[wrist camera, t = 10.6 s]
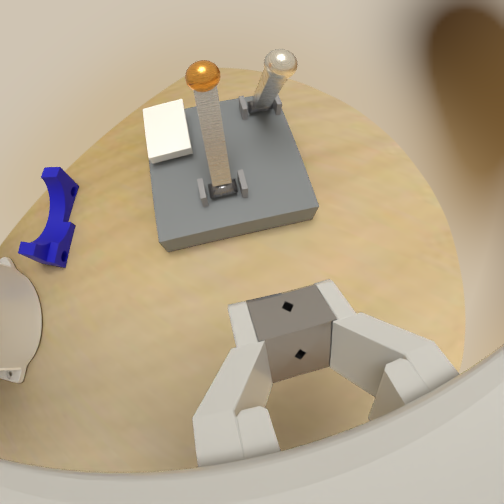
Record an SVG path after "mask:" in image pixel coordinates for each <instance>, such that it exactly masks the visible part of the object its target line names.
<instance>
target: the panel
mask: <svg viewBox="0 0 504 504" xmlns="http://www.w3.org/2000/svg"><path fill="white" fill-rule="evenodd" d="M252 98H253V96H250V97H244V96H239V98H238V99H232V100H226V101H221V102H219V104H220V110H221V117H222V124H223V130H224V136H225V143H226V149H227V156H228V162H229V168H230V175H231V179H233V178H235V180H236V183H237V188H238V193H233V194H228V195H224V196H219V197H215V198H211V197H210V193H209V188H208V184H210V183H212V180H211V175H210V170H209V166H208V161H207V156H206V151H205V146H204V141H203V136H202V131H201V126H200V121H199V116H198V111H197V106H196V107H192V108H187V109H185V114H186V120H187V125H188V131H189V136H190V141H191V147H192V152H193V154H189V155H185V156H181V157H177V158H173V159H169V160H165V161H161V162H157V163H154V164H152V163H151V161H150V160H149V164H150V174H151V184H152V193H153V201H154V209H155V217H156V224H157V231H158V238H159V243H160V244H161V245H162V246H163V247H164V248H165V249H166V250H167V252H170V251H175V250H179V249H183V248H187V247H191V246H196V245H200V244H204V243H209V242H213V241H217V240H221V239H226V238H230V237H235V236H239V235H243V234H248V233H252V232H257V231H261V230H266V229H270V228H275V227H279V226H284V225H288V224H293V223H297V222H302V221H306V220H311V219H312V218H313V216H314V215H315V213H316V211H317V209H318V207H319V205H318V202H317V199H316V196H315V193H314V191H313V188H312V185H311V182H310V180H309V177H308V174H307V171H306V169H305V166H304V163H303V161H302V158H301V155H300V153H299V150H298V148H297V145H296V143H295V140H294V138H293V135H292V132H291V130H290V128H289V125H288V123H287V120H286V118H285V115H284V113H283V111H282V108H281V107H282V102H281V100H280V98H279V96H278V95H277V96H276V98H275V99H274V101H273V109H272V110H266V111H260V112H253V113H249V111H248V107H247V101H252Z"/></svg>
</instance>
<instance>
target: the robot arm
mask: <svg viewBox="0 0 504 504" xmlns="http://www.w3.org/2000/svg"><path fill="white" fill-rule="evenodd" d="M228 312H229V316H230V321H231V325H232V330H233V334H234V339H235V343H236V348H232V349H231V350H230V352H229V353H228V355H227V357H226V359H225V361H224V362H223V364H222V366H221V368H220V370H219V372H218V373H217V375H216V377H215V379H214V381H213V382H212V384H211V386H210V388H209V389H208V391H207V393H206V395H205V397H204V398H203V400H202V402H201V404H200V405H199V407H198V409H197V411H196V413H195V414H194V416H193V418H192V419H193V429H194V438H195V447H196V455H197V463H198V467H197V468H189V469H179V470H168V471H152V472H91V471H77V470H66V469H57V468H49V467H42V466H35V465H30V464H24V463H19V462H14V461H9V460H5V459H1V458H0V504H504V344H503V345H502V346H500V347H499V348H498V349H497V350H495V351H494V352H492V353H491V354H489V355H488V356H487V357H485V358H484V359H482V360H481V361H479V362H478V363H476V364H475V365H473V366H472V367H471V368H469V369H468V370H466V371H464V372H463V373H461V374H459V373H458V372H457V370H456V369H455V368H454V366H453V365H452V364H451V363H450V361H449V360H448V359H447V358H446V356H445V355H444V354H443V352H442V351H441V350H440V349H439V347H438V346H437V345H436V344H435V343H434V341H431V340H429V339H426V338H424V337H421V336H419V335H416V334H414V333H411V332H409V331H406V330H404V329H401V328H399V327H396V326H394V325H391V324H389V323H386V322H384V321H381V320H379V319H377V318H374V317H372V316H369V315H367V314H364V313H362V312H360V313H357V314H356V312H355V311H354V309H353V308H352V307H351V305H350V304H349V303H348V301H347V300H346V298H345V297H344V296H343V294H342V293H341V292H340V290H339V289H338V287H337V286H336V285H335V283H334V282H333V281H332V280H330V279H328V280H325V281H322V282H318V283H315V284H313V285H309V286H306V287H302V288H298V289H294V290H291V291H287V292H283V293H278V294H274V295H270V296H265V297H261V298H256V299H252V300H247V301H246V302H245V301H244V302H239V303H234V304H230V305H228ZM41 329H42V315H41V307H40V302H39V299H38V296H37V293H36V290H35V288H34V286H33V285H32V283H31V282H30V280H29V279H28V278H27V277H26V276H25V275H23V274H22V273H20V272H19V271H18V270H17V269H16V268H15V266H14V264H13V262H12V260H11V259H10V258H8V257H3V258H1V259H0V378H1V379H4V380H8V381H11V382H14V383H22V382H23V380H24V377H25V372H26V367H27V365H28V363H29V362H30V360H31V359H32V358H33V356H34V354H35V353H36V350H37V348H38V345H39V341H40V337H41ZM329 366H330V368H331V369H333V370H334V371H336V372H337V373H339V374H340V375H342V376H343V377H345V378H346V379H348V380H349V381H351V382H352V383H354V384H355V385H357V386H359V387H360V388H362V389H363V390H365V391H366V392H368V393H369V394H371V395H373V396H374V397H375V400H374V403H373V405H372V408H371V411H370V414H369V416H368V418H369V420H370V421H369V422H366V423H364V424H361V425H359V426H356V427H354V428H351V429H349V430H346V431H343V432H341V433H338V434H335V435H332V436H329V437H326V438H324V439H321V440H317V441H314V442H311V443H308V444H305V445H301V446H298V447H295V448H291V449H287V450H284V451H281V450H280V447H279V444H278V441H277V438H276V435H275V431H274V428H273V425H272V422H271V419H270V415H269V412H268V409H266V408H265V407H266V404H267V401H268V398H269V395H270V392H271V389H272V385H273V384H272V383H275V382H278V381H282V380H285V379H288V378H292V377H295V376H298V375H301V374H305V373H308V372H312V371H315V370H319V369H322V368H326V367H329ZM11 372H12V373H11Z"/></svg>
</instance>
